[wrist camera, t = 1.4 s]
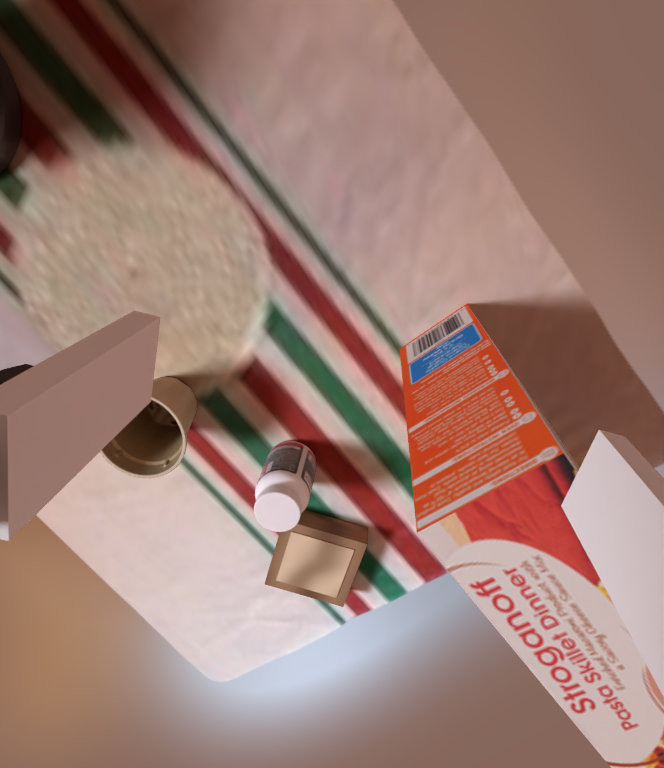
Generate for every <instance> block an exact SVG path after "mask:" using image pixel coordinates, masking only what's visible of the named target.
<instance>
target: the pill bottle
mask: <svg viewBox="0 0 664 768" xmlns="http://www.w3.org/2000/svg"><path fill="white" fill-rule="evenodd" d="M315 471H316V459H315V456H314V454H313V452H312V451H311V450H310V449H309V448H308V447H307V446H306V445H304V444H302V443H300V442H296V441H285V442H281V443H279V444H277V445H276V446H274V447H273V448H272V450H271V451H270V453H269V454H268V457H267V460H266V462H265V465H264V467H263V470H262V473H261V475H260V478H259V480H258V483H257V486H256V490H255V497H256V502H255V506H254V514H255V517H256V519H257V521H258V522H259V523H260V524H261V525H262V526H263V527H264V528H266V529H268V530H271V531H275V532H284V531H288V530H290V529H292V528H293V527H295V526H296V525H297V523H298V522H299V520H300V516H301V513H302V512H303V511H304V510H305V509H306V507H307V505H308V502H309V499H310V494H311V489H312V485H313V480H314V475H315Z"/></svg>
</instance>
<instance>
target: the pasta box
mask: <svg viewBox="0 0 664 768" xmlns="http://www.w3.org/2000/svg"><path fill="white" fill-rule="evenodd" d="M400 356H401V367H402V378H403V389H404V399H405V410H406V421H407V431H408V442H409V453H410V464H411V474H412V485H413V496H414V506H415V517H416V528H417V534H418V535H419V536H420V537H421V538H422V540H423V541H424V542H425V543H426V544H427V546H428V547H429V548H430V549H431V550H432V552H433V553H434V554H435V555H436V556H437V558H438V559H439V560H440V561H441V563H442V564H443V565H444V566H445V567H446V569H447V570H448V571H449V572H450V573H451V575H452V576H453V577H454V578H455V579H456V581H457V582H458V583H459V584H460V585H461V587H462V588H463V589H464V590H465V591H466V593H467V594H468V595H469V596H470V597H471V599H472V600H473V601H474V602H475V603H476V605H477V606H478V607H479V608H480V610H481V611H482V612H483V613H484V614H485V616H486V617H487V618H488V619H489V620H490V622H491V623H492V624H493V625H494V627H495V628H496V629H497V630H498V631H499V633H500V634H501V635H502V636H503V637H504V639H505V640H506V641H507V642H508V643H509V645H510V646H511V647H512V648H513V649H514V651H515V652H516V653H517V654H518V656H519V657H520V658H521V659H522V660H523V662H524V663H525V664H526V665H527V666H528V668H529V669H530V670H531V671H532V672H533V674H534V675H535V676H536V677H537V679H538V680H539V681H540V682H541V683H542V684H543V686H544V687H545V688H546V689H547V691H548V692H549V693H550V694H551V695H552V697H553V698H554V699H555V700H556V701H557V703H558V704H559V705H560V706H561V707H562V709H563V710H564V711H565V712H566V714H567V715H568V716H569V717H570V718H571V720H572V721H573V722H574V723H575V724H576V726H577V727H578V728H579V729H580V730H581V732H582V733H583V734H584V735H585V737H586V738H587V739H588V740H589V741H590V743H591V744H592V745H593V746H594V747H595V749H596V750H597V751H598V752H599V753H600V755H601V756H602V757H603V758H604V759H605V761H606V762H607V763H608V764H609V765H610V767H611V768H664V697H663V695H662V693H661V691H660V689H659V688H658V686H657V684H656V682H655V680H654V678H653V676H652V675H651V673H650V671H649V669H648V667H647V665H646V663H645V661H644V660H643V658H642V656H641V654H640V652H639V650H638V648H637V647H636V645H635V643H634V641H633V639H632V637H631V635H630V633H629V632H628V630H627V628H626V626H625V624H624V622H623V620H622V619H621V617H620V615H619V613H618V611H617V609H616V607H615V606H614V604H613V602H612V600H611V598H610V596H609V594H608V592H607V591H606V589H605V587H604V585H603V583H602V581H601V579H600V578H599V576H598V574H597V572H596V570H595V568H594V566H593V564H592V563H591V561H590V559H589V557H588V555H587V553H586V551H585V550H584V548H583V546H582V544H581V542H580V540H579V538H578V537H577V535H576V533H575V531H574V529H573V527H572V525H571V523H570V522H569V520H568V518H567V516H566V514H565V512H564V510H563V509H562V507H561V505H562V503H563V501H564V499H565V497H566V495H567V493H568V491H569V489H570V487H571V485H572V483H573V481H574V479H575V477H576V475H577V473H578V471H579V469H580V468H579V466H578V465H577V463H576V462H575V460H574V459H573V457H572V456H571V454H570V453H569V452H568V450H567V449H566V447H565V446H564V444H563V443H562V441H561V440H560V438H559V437H558V436H557V434H556V433H555V431H554V430H553V428H552V427H551V425H550V424H549V422H548V421H547V419H546V418H545V417H544V415H543V414H542V412H541V411H540V409H539V408H538V406H537V405H536V403H535V402H534V401H533V399H532V398H531V396H530V395H529V393H528V392H527V390H526V389H525V387H524V386H523V384H522V383H521V382H520V380H519V379H518V377H517V376H516V374H515V373H514V371H513V370H512V368H511V367H510V366H509V364H508V363H507V361H506V360H505V358H504V357H503V355H502V354H501V352H500V351H499V349H498V348H497V347H496V345H495V344H494V342H493V341H492V339H491V338H490V336H489V335H488V333H487V332H486V331H485V329H484V328H483V326H482V325H481V323H480V322H479V320H478V319H477V317H476V316H475V314H474V313H473V312H472V310H471V309H470V307H469V306H468V304H466V305H464V306H463V307H461V308H460V309H458V310H457V311H455V312H454V313H452V314H451V315H449V316H448V317H447V318H445V319H444V320H442V321H441V322H439V323H438V324H436V325H435V326H433V327H432V328H430V329H429V330H427V331H426V332H424V333H423V334H421V335H420V336H418V337H417V338H415V339H414V340H412V341H411V342H409V343H408V344H407V345H405V346H404V347H402V348H401V349H400Z"/></svg>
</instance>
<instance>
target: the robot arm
mask: <svg viewBox="0 0 664 768" xmlns="http://www.w3.org/2000/svg"><path fill="white" fill-rule="evenodd" d="M20 132H21V109H20V102H19V97H18V93H17V89H16V86H15V83H14V80H13V78H12V75H11V73H10V71H9V69H8V67H7V65H6V63H5V61H4V59H3V58H2V56H1V55H0V173H1V172H2V171H3V170H4V169H5V168H6V167H7V166H8V164H9V163H10V161H11V160H12V158H13V156H14V154H15V151H16V149H17V146H18V143H19V138H20ZM159 325H160V317H157V316H154V315H150V314H146V313H142V312H138V311H133V312H131V313H129V314H128V315H126V316H124V317H122V318H120V319H119V320H117V321H115V322H113V323H111V324H110V325H108V326H106V327H104V328H102V329H100V330H99V331H97V332H95V333H93V334H91V335H90V336H88V337H86V338H84V339H82V340H81V341H79V342H77V343H75V344H73V345H71V346H70V347H68V348H66V349H64V350H62V351H61V352H59V353H57V354H55V355H53V356H52V357H50V358H48V359H46V360H44V361H43V362H41V363H39V364H37V365H35V366H32V365H28V364H24V365H20V366H16V367H12V368H7V369H3V370H1V371H0V539H2V540H6V541H9V540H10V539H11V538H12V537H13V536H14V535H15V534H16V533H17V532H18V531H19V530H20V529H22V528H23V527H24V526H25V525H26V524H27V523H28V522H29V520H31V519H32V518H33V517H34V516H35V515H36V514H37V513H38V512H39V511H40V510H41V509H42V508H43V507H44V506H45V505H46V504H47V503H48V502H49V501H50V500H51V499H52V498H53V497H54V496H55V495H56V494H57V493H58V492H59V491H60V490H61V489H62V488H63V487H64V486H65V485H66V484H67V483H68V482H69V481H70V480H71V479H72V478H73V477H74V476H76V475H77V474H78V473H79V472H80V471H81V470H82V469H83V468H84V467H85V466H86V465H87V464H88V463H89V462H90V461H91V460H92V459H93V458H94V457H95V456H96V455H97V454H98V453H99V452H100V451H101V450H102V449H103V448H104V447H105V446H106V445H107V444H108V443H109V442H110V441H111V440H112V439H113V438H114V437H115V436H116V435H117V434H118V433H119V432H120V431H121V430H122V429H123V428H124V427H125V426H126V425H127V424H128V423H129V422H130V421H132V420H133V419H134V418H135V417H136V416H137V415H138V414H139V413H140V412H141V411H142V410H143V409H144V408H145V407H146V406H147V405H148V404H149V403H150V402H151V397H152V388H153V379H154V370H155V361H156V352H157V343H158V334H159ZM561 507H562V509H563V510H564V512H565V514H566V516H567V518H568V520H569V522H570V523H571V525H572V527H573V529H574V531H575V533H576V535H577V537H578V538H579V540H580V542H581V544H582V546H583V548H584V550H585V551H586V553H587V555H588V557H589V559H590V561H591V563H592V564H593V566H594V568H595V570H596V572H597V574H598V576H599V578H600V579H601V581H602V583H603V585H604V587H605V589H606V591H607V592H608V594H609V596H610V598H611V600H612V602H613V604H614V606H615V607H616V609H617V611H618V613H619V615H620V617H621V619H622V620H623V622H624V624H625V626H626V628H627V630H628V632H629V633H630V635H631V637H632V639H633V641H634V643H635V645H636V647H637V648H638V650H639V652H640V654H641V656H642V658H643V660H644V661H645V663H646V665H647V667H648V669H649V671H650V673H651V675H652V676H653V678H654V680H655V682H656V684H657V686H658V688H659V689H660V691H661V693H662V695H663V697H664V478H663V477H662V476H661V475H660V474H659V473H658V472H657V471H656V470H655V469H654V468H653V466H652V465H651V464H650V463H649V462H648V461H647V460H646V459H645V458H644V457H643V456H642V455H641V453H640V452H639V451H638V450H637V449H636V448H635V447H634V446H633V445H632V444H631V443H630V441H629V440H628V439H627V438H626V437H625V436H622V435H619V434H615V433H611V432H607V431H603V430H599V431H598V433H597V435H596V437H595V439H594V441H593V443H592V445H591V447H590V449H589V451H588V453H587V455H586V457H585V459H584V461H583V463H582V465H581V467H580V469H579V471H578V473H577V475H576V477H575V479H574V481H573V483H572V485H571V487H570V489H569V491H568V493H567V495H566V497H565V499H564V501H563V503H562V505H561Z"/></svg>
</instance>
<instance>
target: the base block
mask: <svg viewBox="0 0 664 768" xmlns="http://www.w3.org/2000/svg"><path fill="white" fill-rule="evenodd" d="M367 542H368V528H366V527H363V526H359V525H356V524H353V523H349V522H346V521H342V520H339V519H335V518H332V517H329V516H325V515H322V514H318V513H315V512H312V511H308V510H304V511H303V512H302V513H301V516H300V520H299V522H298V523H297V525H296V526H295V527H293V528H292V529H290V530H288V531H284V532H280V534H279V538H278V541H277V544H276V548H275V551H274V554H273V557H272V561H271V564H270V567H269V571H268V574H267V578H266V581H265V584H266V585H269V586H273V587H276V588H280V589H283V590H287V591H290V592H294V593H297V594H300V595H304V596H307V597H311V598H314V599H318V600H321V601H325V602H328V603H332V604H335V605H338V606H342V607H343V606H344V603H345V601H346V598H347V595H348V593H349V590H350V588H351V585H352V583H353V580H354V577H355V575H356V572H357V570H358V567H359V565H360V562H361V560H362V557H363V554H364V552H365V549H366V547H367Z"/></svg>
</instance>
